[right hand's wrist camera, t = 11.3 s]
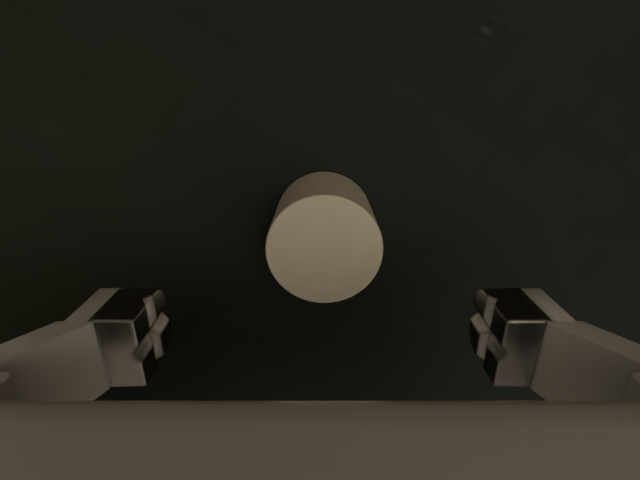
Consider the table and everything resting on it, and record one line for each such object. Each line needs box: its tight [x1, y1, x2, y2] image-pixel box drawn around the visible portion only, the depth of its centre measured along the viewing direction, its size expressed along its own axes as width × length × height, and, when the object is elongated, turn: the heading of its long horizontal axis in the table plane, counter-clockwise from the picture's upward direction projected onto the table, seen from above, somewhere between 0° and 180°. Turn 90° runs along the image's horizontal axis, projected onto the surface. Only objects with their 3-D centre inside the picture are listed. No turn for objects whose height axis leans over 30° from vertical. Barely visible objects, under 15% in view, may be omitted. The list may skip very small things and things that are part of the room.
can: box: [266, 172, 383, 303], centre depth 17 cm, size 4×4×4 cm
